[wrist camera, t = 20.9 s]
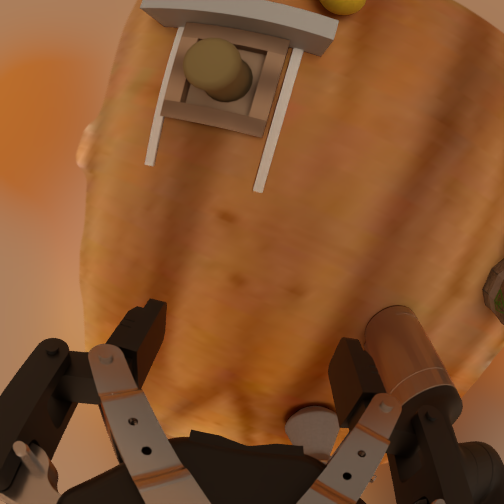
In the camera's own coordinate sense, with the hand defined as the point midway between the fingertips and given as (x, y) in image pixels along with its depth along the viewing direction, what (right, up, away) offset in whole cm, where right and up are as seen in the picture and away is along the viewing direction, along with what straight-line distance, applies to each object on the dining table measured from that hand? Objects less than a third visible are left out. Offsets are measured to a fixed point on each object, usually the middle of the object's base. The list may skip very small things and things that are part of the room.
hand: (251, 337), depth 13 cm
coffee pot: (+17, -32, +43) cm, 57 cm away
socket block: (-3, +24, +18) cm, 31 cm away
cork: (-3, +24, +18) cm, 30 cm away
